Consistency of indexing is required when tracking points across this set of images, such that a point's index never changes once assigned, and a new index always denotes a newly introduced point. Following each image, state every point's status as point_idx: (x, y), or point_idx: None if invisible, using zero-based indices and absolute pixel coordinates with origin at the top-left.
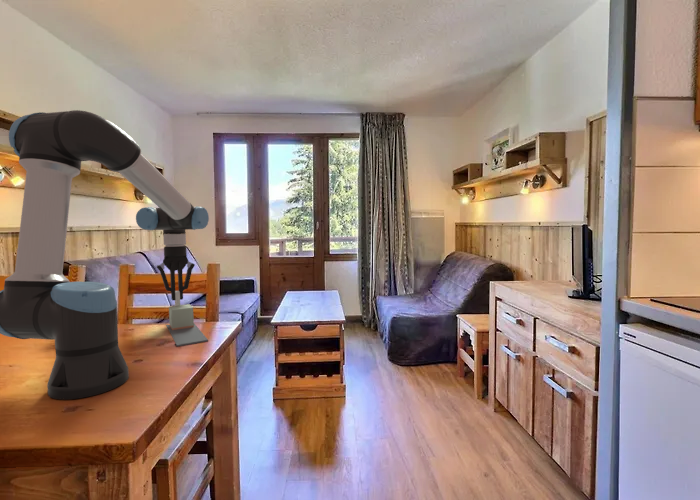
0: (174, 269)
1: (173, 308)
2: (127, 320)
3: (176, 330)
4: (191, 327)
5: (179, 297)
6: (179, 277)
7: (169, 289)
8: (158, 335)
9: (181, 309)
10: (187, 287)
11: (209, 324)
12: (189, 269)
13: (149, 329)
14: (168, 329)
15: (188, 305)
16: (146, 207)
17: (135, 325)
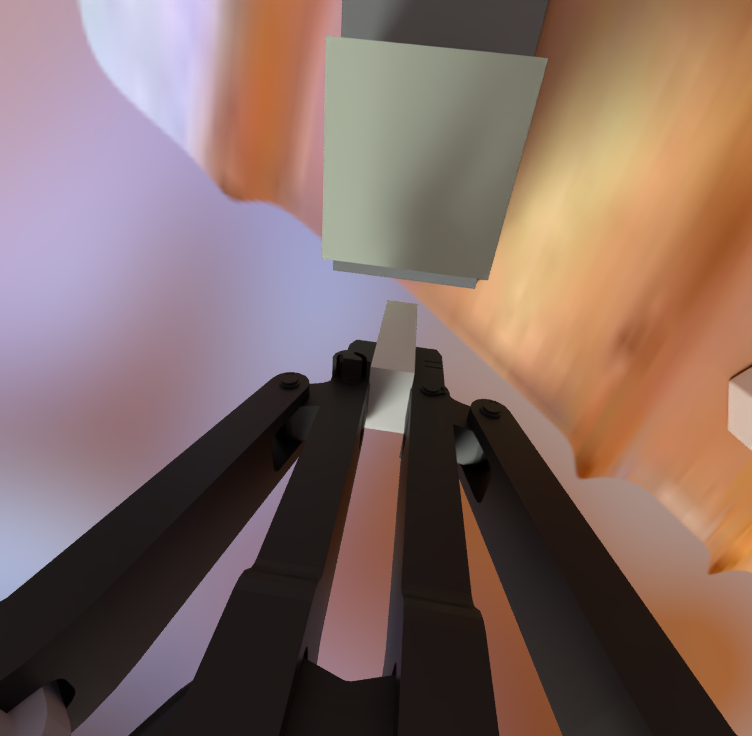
0: (405, 716)
1: (493, 150)
2: None
3: None
4: None
5: (382, 338)
6: (331, 501)
7: (475, 405)
8: (612, 48)
9: (444, 49)
10: (278, 381)
11: (254, 124)
12: (52, 620)
13: (569, 272)
14: None
15: (342, 202)
16: None
17: (574, 402)
